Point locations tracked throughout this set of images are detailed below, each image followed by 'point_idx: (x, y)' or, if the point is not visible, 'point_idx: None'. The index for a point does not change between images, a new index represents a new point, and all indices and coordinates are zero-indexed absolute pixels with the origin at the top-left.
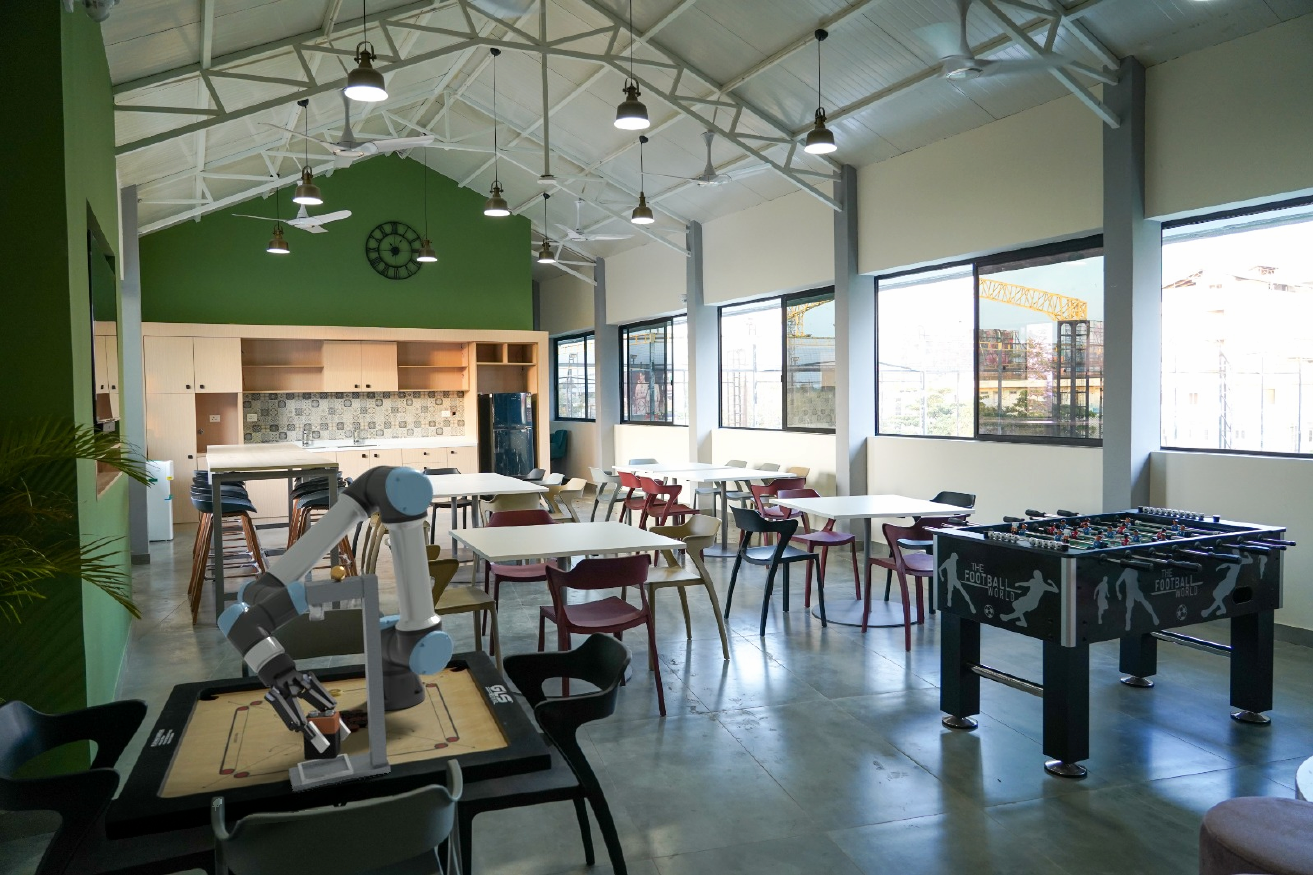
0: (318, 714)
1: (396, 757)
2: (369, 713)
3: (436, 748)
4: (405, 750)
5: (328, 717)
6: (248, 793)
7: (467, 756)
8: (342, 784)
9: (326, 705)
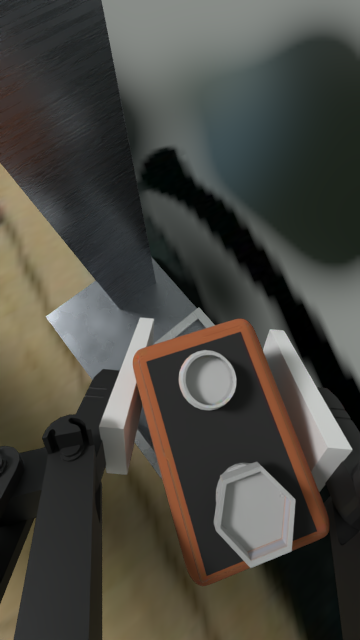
0: (222, 466)
1: (59, 284)
2: (112, 187)
3: (4, 220)
4: (16, 283)
5: (254, 353)
6: (323, 558)
7: None
8: None
9: (93, 489)
